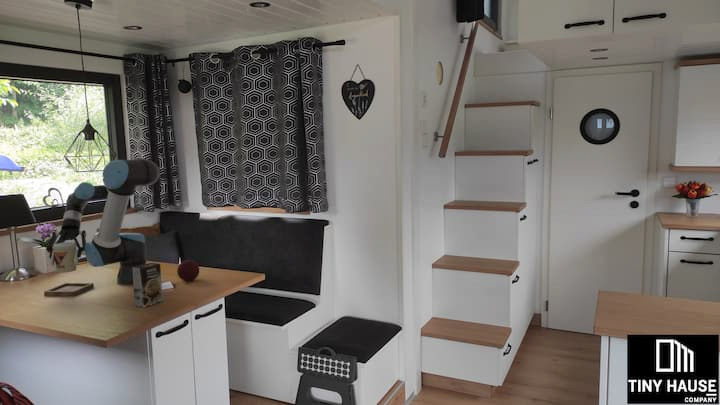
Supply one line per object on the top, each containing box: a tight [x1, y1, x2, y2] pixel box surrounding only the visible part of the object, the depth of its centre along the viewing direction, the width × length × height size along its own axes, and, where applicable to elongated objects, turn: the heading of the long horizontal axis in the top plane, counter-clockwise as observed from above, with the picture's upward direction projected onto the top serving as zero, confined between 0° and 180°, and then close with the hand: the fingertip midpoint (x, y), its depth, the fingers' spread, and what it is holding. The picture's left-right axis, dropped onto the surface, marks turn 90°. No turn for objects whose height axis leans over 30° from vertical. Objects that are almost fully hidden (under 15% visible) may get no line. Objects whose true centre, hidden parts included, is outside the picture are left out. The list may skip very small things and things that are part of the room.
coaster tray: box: [43, 282, 95, 297], centre depth 240 cm, size 14×14×2 cm
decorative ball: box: [176, 259, 200, 282], centre depth 253 cm, size 10×10×10 cm
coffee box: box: [132, 262, 164, 308], centre depth 218 cm, size 9×6×16 cm
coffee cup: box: [53, 241, 77, 274], centre depth 238 cm, size 9×9×12 cm
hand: (63, 263), depth 236 cm, fingers closed on coffee cup, 9 cm apart
